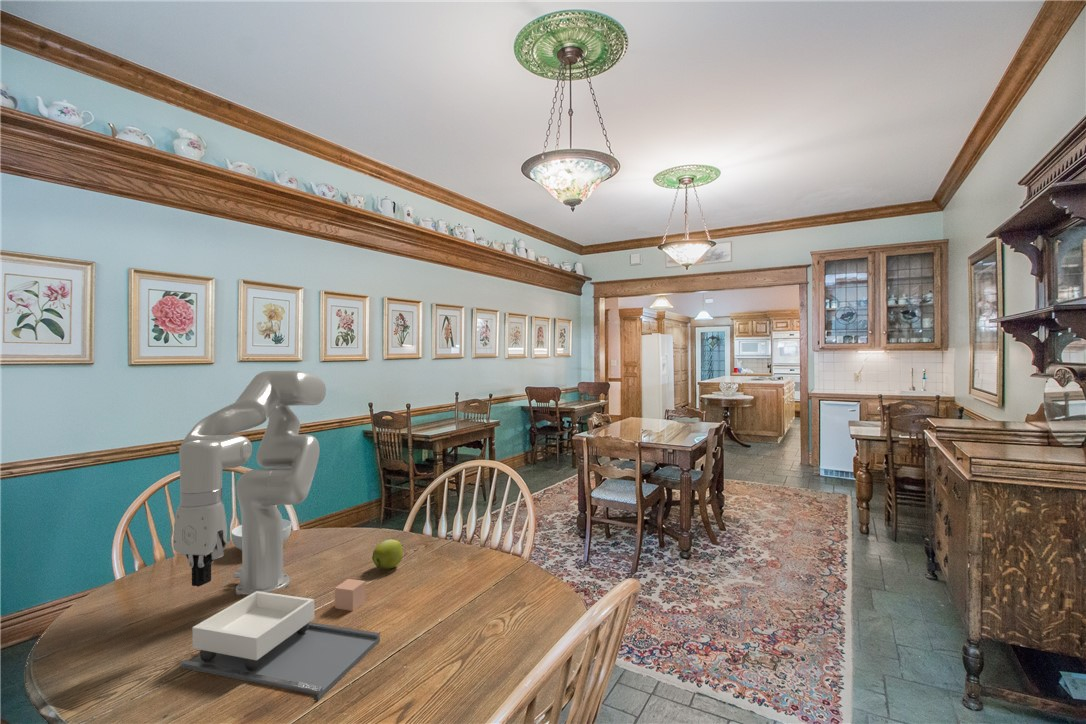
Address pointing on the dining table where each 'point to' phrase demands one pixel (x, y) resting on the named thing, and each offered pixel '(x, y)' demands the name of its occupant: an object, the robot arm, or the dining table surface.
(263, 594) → the cart
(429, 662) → the dining table surface
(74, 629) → the dining table surface
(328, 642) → the track
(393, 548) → the apple
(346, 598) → the block
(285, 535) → the cereal bowl
